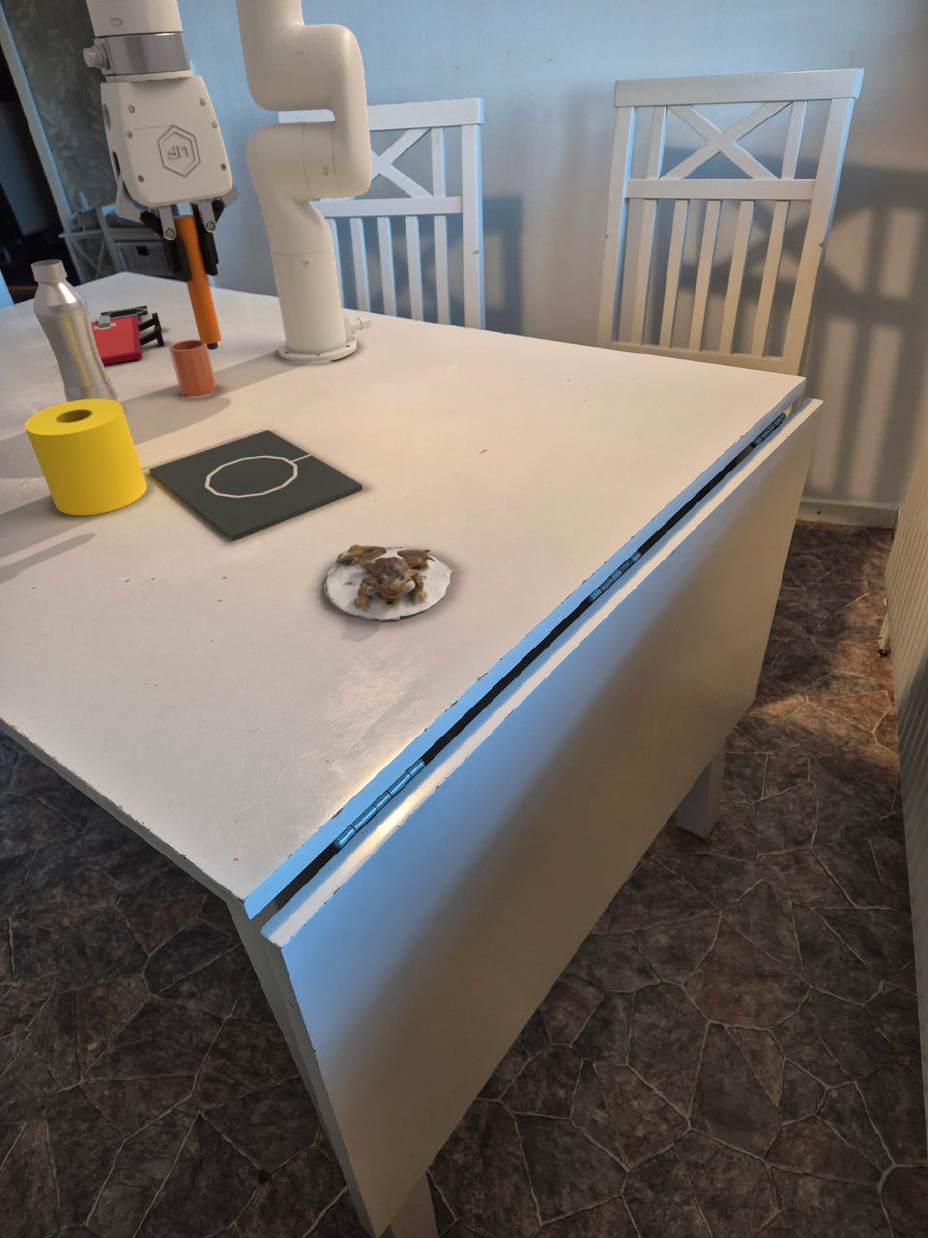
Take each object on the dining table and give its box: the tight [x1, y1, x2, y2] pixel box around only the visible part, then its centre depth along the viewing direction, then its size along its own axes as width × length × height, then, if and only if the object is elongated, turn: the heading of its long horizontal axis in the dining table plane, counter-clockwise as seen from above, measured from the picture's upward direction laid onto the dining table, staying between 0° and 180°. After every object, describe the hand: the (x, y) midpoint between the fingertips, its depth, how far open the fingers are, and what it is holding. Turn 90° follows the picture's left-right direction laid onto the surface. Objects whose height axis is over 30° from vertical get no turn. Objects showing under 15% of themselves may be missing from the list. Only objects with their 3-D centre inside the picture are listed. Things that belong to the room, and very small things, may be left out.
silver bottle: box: [30, 259, 119, 403], centre depth 107 cm, size 6×7×20 cm
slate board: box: [148, 429, 364, 541], centre depth 94 cm, size 16×22×1 cm
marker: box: [173, 214, 222, 351], centre depth 84 cm, size 2×2×13 cm
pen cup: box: [168, 339, 217, 397], centre depth 116 cm, size 5×5×7 cm
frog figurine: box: [323, 543, 453, 622], centre depth 74 cm, size 12×12×4 cm
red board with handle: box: [91, 305, 166, 366], centre depth 142 cm, size 30×3×15 cm
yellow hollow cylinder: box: [24, 399, 148, 516], centre depth 90 cm, size 10×10×9 cm
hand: (196, 274), depth 84 cm, fingers closed on marker, 2 cm apart
